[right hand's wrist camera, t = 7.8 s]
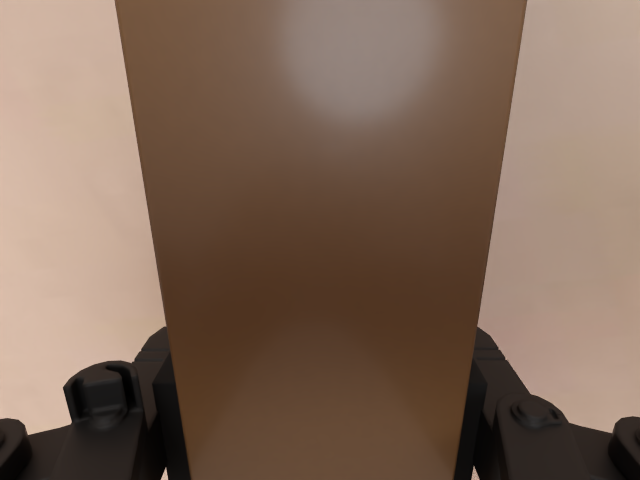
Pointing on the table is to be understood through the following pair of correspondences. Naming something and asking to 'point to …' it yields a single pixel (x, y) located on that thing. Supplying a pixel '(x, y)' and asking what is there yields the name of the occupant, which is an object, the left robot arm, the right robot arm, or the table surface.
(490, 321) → the table surface
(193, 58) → the bar
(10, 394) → the table surface
